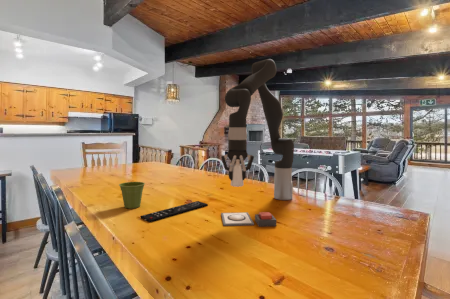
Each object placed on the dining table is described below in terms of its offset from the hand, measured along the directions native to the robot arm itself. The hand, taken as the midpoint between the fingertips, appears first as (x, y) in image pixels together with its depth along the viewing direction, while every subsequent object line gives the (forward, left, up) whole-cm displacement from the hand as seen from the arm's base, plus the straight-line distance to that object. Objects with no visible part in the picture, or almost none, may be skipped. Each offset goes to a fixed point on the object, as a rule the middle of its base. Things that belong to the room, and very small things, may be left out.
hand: (237, 179), depth 105 cm
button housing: (-11, +5, -17) cm, 21 cm away
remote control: (+26, -12, -17) cm, 34 cm away
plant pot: (+48, -21, -17) cm, 55 cm away
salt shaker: (0, 0, -2) cm, 2 cm away
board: (0, 0, -17) cm, 17 cm away
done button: (-11, +5, -15) cm, 19 cm away
